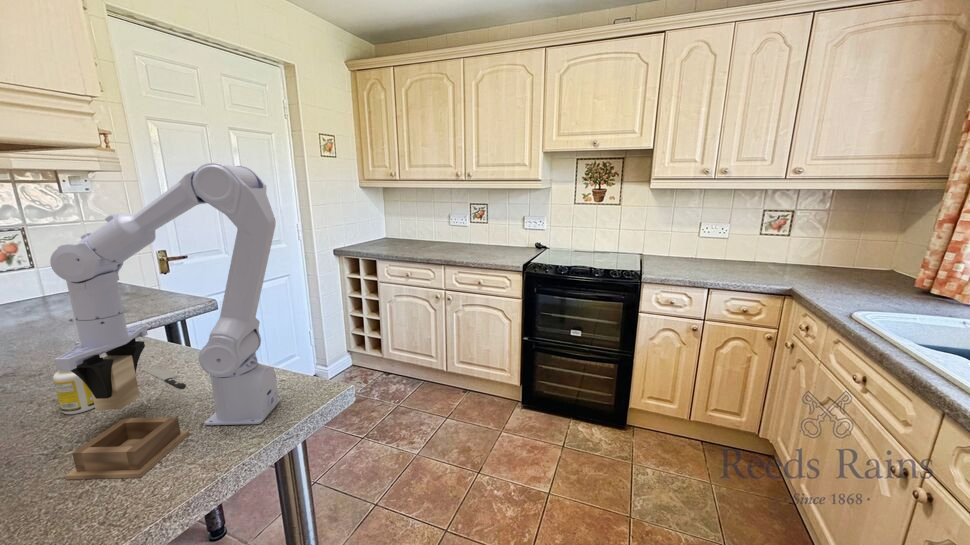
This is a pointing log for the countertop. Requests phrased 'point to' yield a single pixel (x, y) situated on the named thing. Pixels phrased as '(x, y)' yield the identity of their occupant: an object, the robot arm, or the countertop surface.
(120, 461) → the wooden peg socket
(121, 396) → the peg
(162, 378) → the chef's knife
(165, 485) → the countertop surface
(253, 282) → the robot arm
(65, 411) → the supplement bottle
